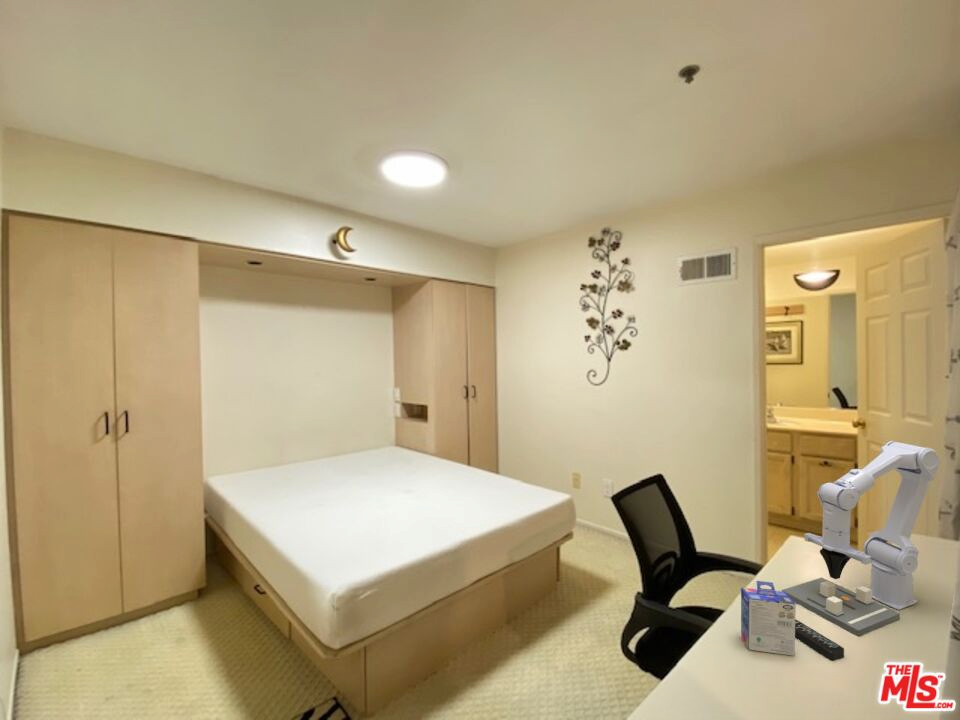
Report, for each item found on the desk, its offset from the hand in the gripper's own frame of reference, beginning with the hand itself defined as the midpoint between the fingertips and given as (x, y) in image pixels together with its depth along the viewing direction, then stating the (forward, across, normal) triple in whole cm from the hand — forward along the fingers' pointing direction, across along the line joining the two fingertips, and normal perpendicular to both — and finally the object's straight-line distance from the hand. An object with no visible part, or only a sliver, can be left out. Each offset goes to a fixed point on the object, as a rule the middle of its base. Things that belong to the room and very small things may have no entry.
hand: (834, 577), depth 114 cm
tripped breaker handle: (+6, -2, 0) cm, 6 cm away
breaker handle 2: (+6, +4, +6) cm, 9 cm away
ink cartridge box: (+8, +4, -33) cm, 34 cm away
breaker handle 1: (+6, +4, -7) cm, 9 cm away
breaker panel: (+8, +1, 0) cm, 8 cm away
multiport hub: (+8, +7, -22) cm, 25 cm away
